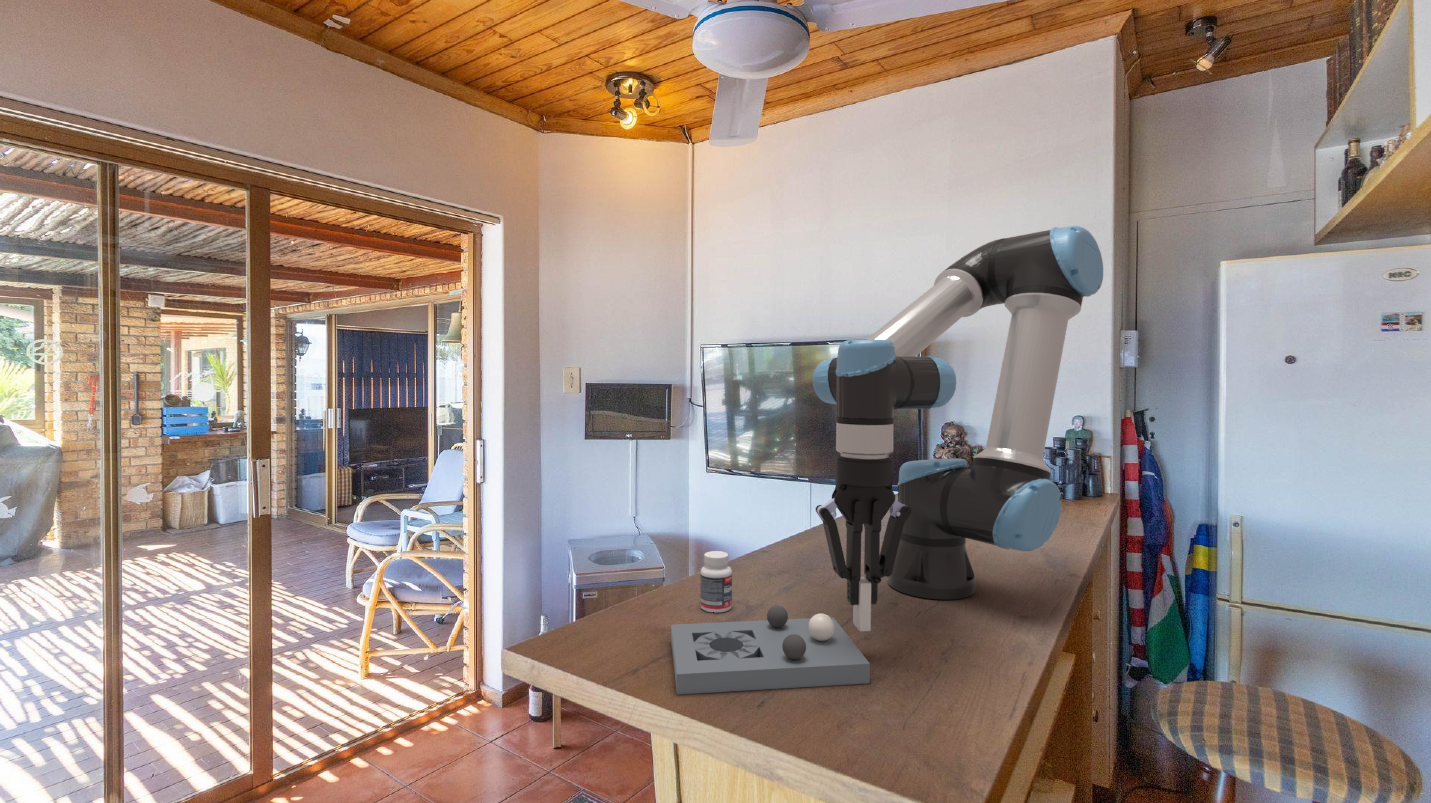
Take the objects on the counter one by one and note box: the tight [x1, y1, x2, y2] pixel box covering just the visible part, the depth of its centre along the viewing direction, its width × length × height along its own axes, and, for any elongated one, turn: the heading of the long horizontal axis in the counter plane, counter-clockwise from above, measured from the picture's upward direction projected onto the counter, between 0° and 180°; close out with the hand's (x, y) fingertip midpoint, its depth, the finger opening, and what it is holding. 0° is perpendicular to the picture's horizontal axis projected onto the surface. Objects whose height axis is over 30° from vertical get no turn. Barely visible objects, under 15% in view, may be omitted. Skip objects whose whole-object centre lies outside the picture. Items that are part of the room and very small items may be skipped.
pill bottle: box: [699, 550, 733, 614], centre depth 103 cm, size 5×5×9 cm
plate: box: [670, 616, 871, 695], centre depth 84 cm, size 24×15×2 cm, turn 97°
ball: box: [808, 613, 835, 641], centre depth 85 cm, size 4×4×4 cm
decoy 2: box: [782, 634, 806, 660], centre depth 79 cm, size 3×3×3 cm
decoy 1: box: [766, 604, 789, 628], centre depth 89 cm, size 3×3×3 cm
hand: (861, 627), depth 85 cm, fingers closed
